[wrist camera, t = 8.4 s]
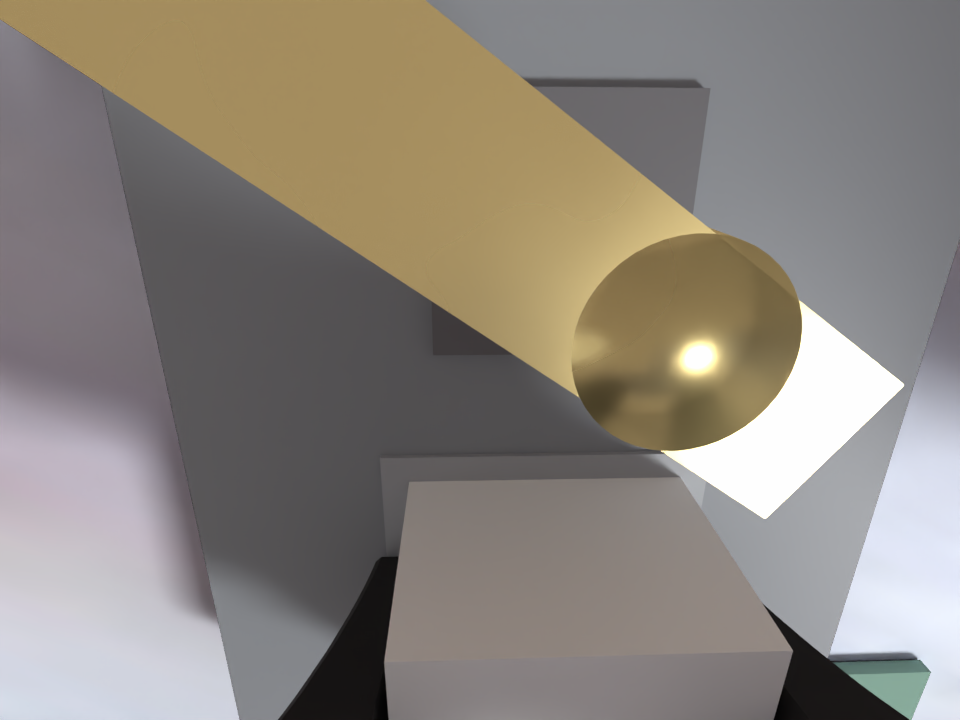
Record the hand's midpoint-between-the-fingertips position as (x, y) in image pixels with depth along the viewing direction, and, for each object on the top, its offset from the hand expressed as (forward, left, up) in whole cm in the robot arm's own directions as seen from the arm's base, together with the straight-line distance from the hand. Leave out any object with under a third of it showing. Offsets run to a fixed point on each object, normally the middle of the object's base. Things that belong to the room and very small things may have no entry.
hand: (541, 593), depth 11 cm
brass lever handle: (+2, -8, 0) cm, 9 cm away
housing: (0, -4, -3) cm, 4 cm away
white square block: (0, 0, 0) cm, 0 cm away
